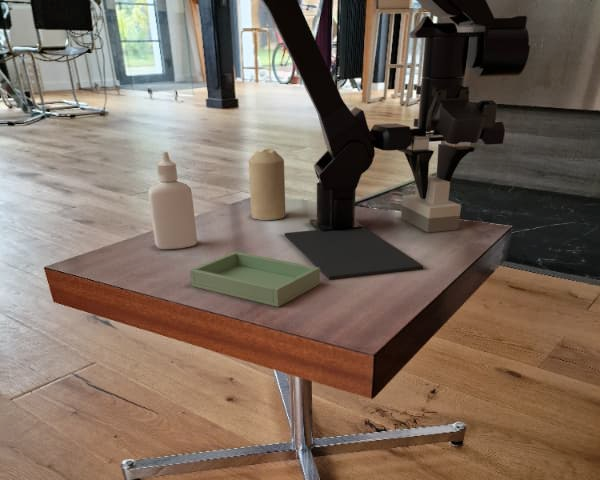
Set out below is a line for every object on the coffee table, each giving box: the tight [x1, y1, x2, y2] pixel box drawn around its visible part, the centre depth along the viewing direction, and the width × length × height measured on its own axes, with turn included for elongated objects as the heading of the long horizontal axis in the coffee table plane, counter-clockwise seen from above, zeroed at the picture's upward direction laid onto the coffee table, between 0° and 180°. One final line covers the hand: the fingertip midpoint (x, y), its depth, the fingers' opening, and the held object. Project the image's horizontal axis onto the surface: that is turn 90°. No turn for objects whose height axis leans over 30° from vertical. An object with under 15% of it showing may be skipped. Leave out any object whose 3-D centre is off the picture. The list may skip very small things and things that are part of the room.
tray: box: [189, 251, 321, 308], centre depth 64 cm, size 12×8×2 cm
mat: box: [284, 226, 424, 280], centre depth 75 cm, size 20×12×1 cm, turn 16°
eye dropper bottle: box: [147, 151, 198, 251], centre depth 76 cm, size 4×6×12 cm
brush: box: [400, 174, 462, 233], centre depth 85 cm, size 9×5×6 cm, turn 16°
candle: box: [248, 148, 286, 221], centre depth 90 cm, size 6×6×10 cm
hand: (431, 197), depth 85 cm, fingers closed on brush, 2 cm apart
